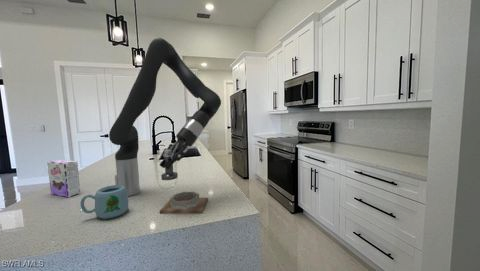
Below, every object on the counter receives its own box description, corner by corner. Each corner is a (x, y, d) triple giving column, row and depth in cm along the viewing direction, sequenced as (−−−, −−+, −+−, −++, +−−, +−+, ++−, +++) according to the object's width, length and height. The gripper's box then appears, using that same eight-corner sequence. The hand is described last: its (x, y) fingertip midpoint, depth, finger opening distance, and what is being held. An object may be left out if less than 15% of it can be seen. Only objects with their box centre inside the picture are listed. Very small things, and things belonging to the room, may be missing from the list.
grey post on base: (159, 178, 82) (156, 150, 81) (173, 174, 86) (171, 148, 85) (165, 181, 77) (162, 152, 76) (180, 177, 81) (178, 149, 80)
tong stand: (159, 213, 79) (159, 202, 79) (171, 200, 91) (170, 191, 91) (201, 213, 79) (201, 202, 78) (207, 200, 90) (207, 190, 90)
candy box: (50, 194, 102) (46, 161, 101) (64, 190, 108) (60, 159, 106) (67, 198, 97) (63, 163, 96) (81, 193, 103) (77, 160, 101)
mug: (80, 227, 71) (77, 199, 70) (83, 214, 80) (81, 189, 79) (130, 215, 78) (128, 189, 77) (128, 205, 88) (126, 181, 87)
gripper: (176, 126, 90) (149, 159, 83) (192, 127, 79) (163, 164, 72) (188, 137, 94) (163, 169, 87) (205, 139, 83) (179, 176, 76)
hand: (163, 167), depth 80 cm, fingers closed on grey post on base, 3 cm apart
